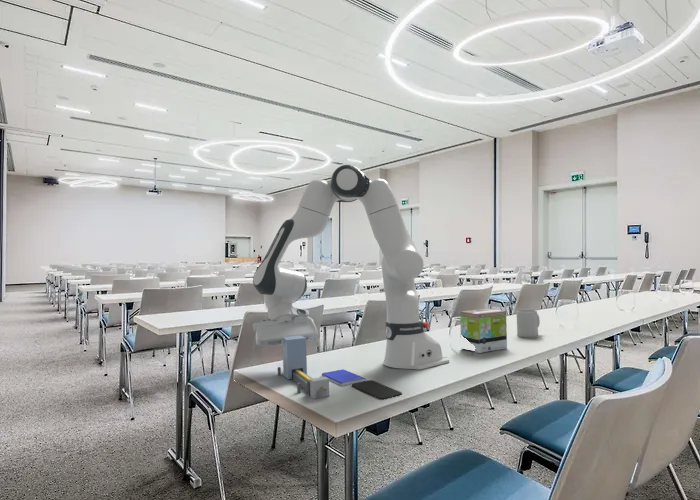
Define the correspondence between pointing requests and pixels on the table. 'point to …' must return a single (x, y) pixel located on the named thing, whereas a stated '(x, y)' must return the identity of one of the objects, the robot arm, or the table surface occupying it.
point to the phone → (376, 389)
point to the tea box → (484, 329)
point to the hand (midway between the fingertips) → (291, 352)
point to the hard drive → (343, 377)
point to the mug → (527, 323)
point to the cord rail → (310, 383)
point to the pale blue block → (294, 355)
